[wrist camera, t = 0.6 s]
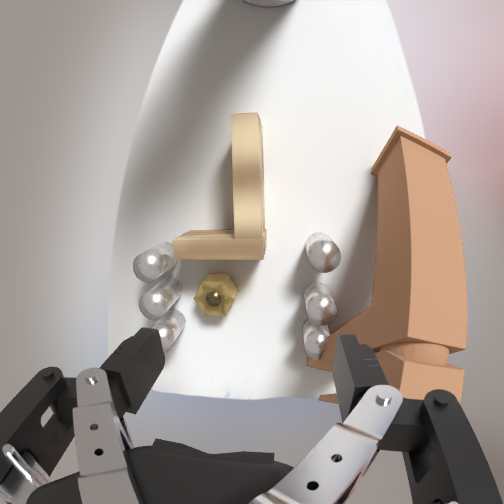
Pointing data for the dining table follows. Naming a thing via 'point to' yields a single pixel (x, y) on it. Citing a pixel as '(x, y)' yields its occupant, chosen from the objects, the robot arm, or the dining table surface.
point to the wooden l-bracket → (236, 203)
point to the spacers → (169, 290)
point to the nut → (216, 294)
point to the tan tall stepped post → (413, 274)
